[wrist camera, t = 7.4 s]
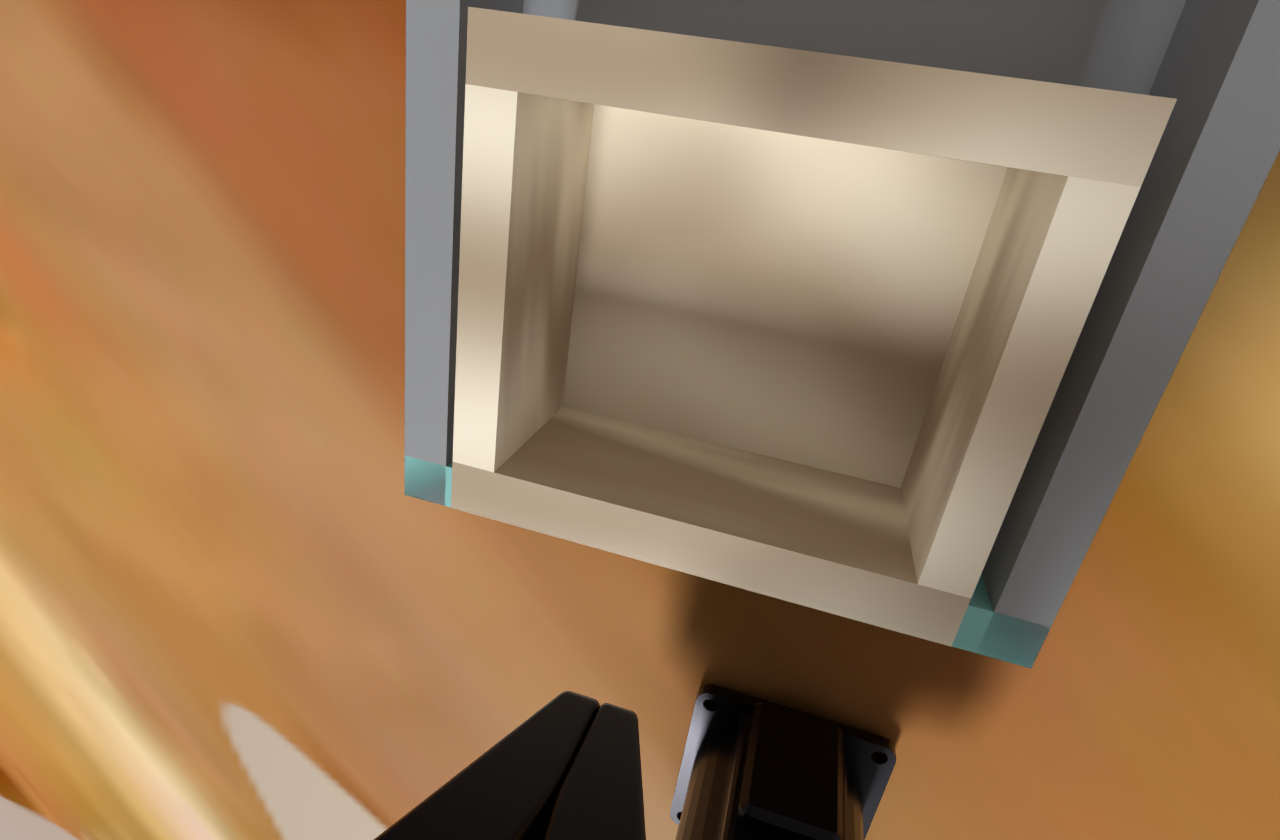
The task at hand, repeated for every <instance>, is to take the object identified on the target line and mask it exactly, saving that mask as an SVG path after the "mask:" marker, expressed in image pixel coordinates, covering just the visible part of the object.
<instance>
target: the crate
mask: <svg viewBox="0 0 1280 840" xmlns="http://www.w3.org/2000/svg"><path fill="white" fill-rule="evenodd" d="M1176 101H1177V99H1174V98H1166V97H1159V96H1151V95H1143V94H1136V93H1128V92H1120V91H1113V90H1105V89H1097V88H1090V87H1082V86H1074V85H1067V84H1059V83H1051V82H1044V81H1036V80H1028V79H1021V78H1013V77H1005V76H997V75H990V74H982V73H974V72H967V71H959V70H951V69H944V68H936V67H928V66H921V65H913V64H905V63H898V62H890V61H882V60H875V59H867V58H859V57H851V56H844V55H836V54H828V53H821V52H813V51H805V50H798V49H790V48H782V47H775V46H767V45H759V44H752V43H744V42H736V41H729V40H721V39H713V38H706V37H698V36H690V35H682V34H675V33H667V32H659V31H652V30H644V29H636V28H629V27H621V26H613V25H606V24H598V23H590V22H583V21H575V20H567V19H560V18H552V17H544V16H536V15H529V14H521V13H513V12H506V11H498V10H490V9H483V8H475V7H468V25H467V54H466V83H465V112H464V142H463V171H462V200H461V229H460V258H459V287H458V317H457V346H456V375H455V404H454V433H453V463H452V492H451V508H453V509H457V510H461V511H464V512H468V513H471V514H475V515H479V516H482V517H486V518H489V519H493V520H497V521H500V522H504V523H507V524H511V525H515V526H518V527H522V528H525V529H529V530H533V531H536V532H540V533H543V534H547V535H551V536H554V537H558V538H561V539H565V540H569V541H572V542H576V543H579V544H583V545H587V546H590V547H594V548H597V549H601V550H605V551H608V552H612V553H615V554H619V555H623V556H626V557H630V558H633V559H637V560H641V561H644V562H648V563H651V564H655V565H659V566H662V567H666V568H669V569H673V570H677V571H680V572H684V573H687V574H691V575H695V576H698V577H702V578H705V579H709V580H713V581H716V582H720V583H723V584H727V585H731V586H734V587H738V588H741V589H745V590H749V591H752V592H756V593H759V594H763V595H767V596H770V597H774V598H777V599H781V600H785V601H788V602H792V603H795V604H799V605H803V606H806V607H810V608H813V609H817V610H821V611H824V612H828V613H831V614H835V615H839V616H842V617H846V618H849V619H853V620H857V621H860V622H864V623H867V624H871V625H875V626H878V627H882V628H885V629H889V630H893V631H896V632H900V633H903V634H907V635H911V636H914V637H918V638H921V639H925V640H929V641H932V642H936V643H939V644H943V645H947V646H950V647H951V646H952V644H953V641H954V639H955V636H956V634H957V632H958V629H959V627H960V624H961V622H962V619H963V617H964V615H965V612H966V610H967V607H968V605H969V602H970V600H971V598H972V595H973V593H974V590H975V588H976V586H977V583H978V581H979V578H980V576H981V573H982V571H983V569H984V566H985V564H986V561H987V559H988V556H989V554H990V552H991V549H992V547H993V544H994V542H995V539H996V537H997V535H998V532H999V530H1000V527H1001V525H1002V522H1003V520H1004V518H1005V515H1006V513H1007V510H1008V508H1009V506H1010V503H1011V501H1012V498H1013V496H1014V493H1015V491H1016V489H1017V486H1018V484H1019V481H1020V479H1021V476H1022V474H1023V472H1024V469H1025V467H1026V464H1027V462H1028V459H1029V457H1030V455H1031V452H1032V450H1033V447H1034V445H1035V442H1036V440H1037V438H1038V435H1039V433H1040V430H1041V428H1042V425H1043V423H1044V421H1045V418H1046V416H1047V413H1048V411H1049V409H1050V406H1051V404H1052V401H1053V399H1054V396H1055V394H1056V392H1057V389H1058V387H1059V384H1060V382H1061V379H1062V377H1063V375H1064V372H1065V370H1066V367H1067V365H1068V362H1069V360H1070V358H1071V355H1072V353H1073V350H1074V348H1075V345H1076V343H1077V341H1078V338H1079V336H1080V333H1081V331H1082V328H1083V326H1084V324H1085V321H1086V319H1087V316H1088V314H1089V312H1090V309H1091V307H1092V304H1093V302H1094V299H1095V297H1096V295H1097V292H1098V290H1099V287H1100V285H1101V282H1102V280H1103V278H1104V275H1105V273H1106V270H1107V268H1108V265H1109V263H1110V261H1111V258H1112V256H1113V253H1114V251H1115V248H1116V246H1117V244H1118V241H1119V239H1120V236H1121V234H1122V231H1123V229H1124V227H1125V224H1126V222H1127V219H1128V217H1129V215H1130V212H1131V210H1132V207H1133V205H1134V202H1135V200H1136V198H1137V195H1138V193H1139V190H1140V188H1141V185H1142V183H1143V181H1144V178H1145V176H1146V173H1147V171H1148V168H1149V166H1150V164H1151V161H1152V159H1153V156H1154V154H1155V151H1156V149H1157V147H1158V144H1159V142H1160V139H1161V137H1162V135H1163V132H1164V130H1165V127H1166V125H1167V122H1168V120H1169V118H1170V115H1171V113H1172V110H1173V108H1174V105H1175V103H1176Z"/></svg>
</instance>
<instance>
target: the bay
mask: <svg viewBox="0 0 1280 840" xmlns="http://www.w3.org/2000/svg"><path fill="white" fill-rule="evenodd" d="M468 7H475V8H483V9H490V10H498V11H506V12H513V13H521V14H529V15H536V16H544V17H552V18H560V19H567V20H575V21H583V22H590V23H598V24H606V25H613V26H621V27H629V28H636V29H644V30H652V31H659V32H667V33H675V34H682V35H690V36H698V37H706V38H713V39H721V40H729V41H736V42H744V43H752V44H759V45H767V46H775V47H782V48H790V49H798V50H805V51H813V52H821V53H828V54H836V55H844V56H851V57H859V58H867V59H875V60H882V61H890V62H898V63H905V64H913V65H921V66H928V67H936V68H944V69H951V70H959V71H967V72H974V73H982V74H990V75H997V76H1005V77H1013V78H1021V79H1028V80H1036V81H1044V82H1051V83H1059V84H1067V85H1074V86H1082V87H1090V88H1097V89H1105V90H1113V91H1120V92H1128V93H1136V94H1143V95H1151V96H1159V97H1166V98H1174V99H1177V101H1176V103H1175V105H1174V108H1173V110H1172V113H1171V115H1170V118H1169V120H1168V122H1167V125H1166V127H1165V130H1164V132H1163V135H1162V137H1161V139H1160V142H1159V144H1158V147H1157V149H1156V151H1155V154H1154V156H1153V159H1152V161H1151V164H1150V166H1149V168H1148V171H1147V173H1146V176H1145V178H1144V181H1143V183H1142V185H1141V188H1140V190H1139V193H1138V195H1137V198H1136V200H1135V202H1134V205H1133V207H1132V210H1131V212H1130V215H1129V217H1128V219H1127V222H1126V224H1125V227H1124V229H1123V231H1122V234H1121V236H1120V239H1119V241H1118V244H1117V246H1116V248H1115V251H1114V253H1113V256H1112V258H1111V261H1110V263H1109V265H1108V268H1107V270H1106V273H1105V275H1104V278H1103V280H1102V282H1101V285H1100V287H1099V290H1098V292H1097V295H1096V297H1095V299H1094V302H1093V304H1092V307H1091V309H1090V312H1089V314H1088V316H1087V319H1086V321H1085V324H1084V326H1083V328H1082V331H1081V333H1080V336H1079V338H1078V341H1077V343H1076V345H1075V348H1074V350H1073V353H1072V355H1071V358H1070V360H1069V362H1068V365H1067V367H1066V370H1065V372H1064V375H1063V377H1062V379H1061V382H1060V384H1059V387H1058V389H1057V392H1056V394H1055V396H1054V399H1053V401H1052V404H1051V406H1050V409H1049V411H1048V413H1047V416H1046V418H1045V421H1044V423H1043V425H1042V428H1041V430H1040V433H1039V435H1038V438H1037V440H1036V442H1035V445H1034V447H1033V450H1032V452H1031V455H1030V457H1029V459H1028V462H1027V464H1026V467H1025V469H1024V472H1023V474H1022V476H1021V479H1020V481H1019V484H1018V486H1017V489H1016V491H1015V493H1014V496H1013V498H1012V501H1011V503H1010V506H1009V508H1008V510H1007V513H1006V515H1005V518H1004V520H1003V522H1002V525H1001V527H1000V530H999V532H998V535H997V537H996V539H995V542H994V544H993V547H992V549H991V552H990V554H989V556H988V559H987V561H986V564H985V566H984V569H983V571H982V573H981V576H980V578H979V581H978V583H977V586H976V588H975V590H974V593H973V595H972V598H971V600H970V602H969V605H968V607H967V610H966V612H965V615H964V617H963V619H962V622H961V624H960V627H959V629H958V632H957V634H956V636H955V639H954V641H953V644H952V647H956V648H959V649H963V650H966V651H970V652H974V653H977V654H981V655H984V656H988V657H992V658H995V659H999V660H1002V661H1006V662H1010V663H1013V664H1017V665H1020V666H1024V667H1028V668H1032V665H1033V663H1034V661H1035V659H1036V657H1037V655H1038V653H1039V651H1040V649H1041V647H1042V645H1043V643H1044V640H1045V638H1046V636H1047V634H1048V632H1049V630H1050V628H1051V626H1052V624H1053V622H1054V620H1055V618H1056V615H1057V613H1058V611H1059V609H1060V607H1061V605H1062V603H1063V601H1064V599H1065V597H1066V595H1067V593H1068V590H1069V588H1070V586H1071V584H1072V582H1073V580H1074V578H1075V576H1076V574H1077V572H1078V570H1079V568H1080V565H1081V563H1082V561H1083V559H1084V557H1085V555H1086V553H1087V551H1088V549H1089V547H1090V545H1091V543H1092V540H1093V538H1094V536H1095V534H1096V532H1097V530H1098V528H1099V526H1100V524H1101V522H1102V520H1103V518H1104V515H1105V513H1106V511H1107V509H1108V507H1109V505H1110V503H1111V501H1112V499H1113V497H1114V495H1115V493H1116V490H1117V488H1118V486H1119V484H1120V482H1121V480H1122V478H1123V476H1124V474H1125V472H1126V470H1127V468H1128V465H1129V463H1130V461H1131V459H1132V457H1133V455H1134V453H1135V451H1136V449H1137V447H1138V445H1139V443H1140V440H1141V438H1142V436H1143V434H1144V432H1145V430H1146V428H1147V426H1148V424H1149V422H1150V420H1151V418H1152V415H1153V413H1154V411H1155V409H1156V407H1157V405H1158V403H1159V401H1160V399H1161V397H1162V395H1163V393H1164V390H1165V388H1166V386H1167V384H1168V382H1169V380H1170V378H1171V376H1172V374H1173V372H1174V370H1175V368H1176V365H1177V363H1178V361H1179V359H1180V357H1181V355H1182V353H1183V351H1184V349H1185V347H1186V345H1187V343H1188V340H1189V338H1190V336H1191V334H1192V332H1193V330H1194V328H1195V326H1196V324H1197V322H1198V320H1199V317H1200V315H1201V313H1202V311H1203V309H1204V307H1205V305H1206V303H1207V301H1208V299H1209V297H1210V295H1211V292H1212V290H1213V288H1214V286H1215V284H1216V282H1217V280H1218V278H1219V276H1220V274H1221V272H1222V270H1223V267H1224V265H1225V263H1226V261H1227V259H1228V257H1229V255H1230V253H1231V251H1232V249H1233V247H1234V245H1235V242H1236V240H1237V238H1238V236H1239V234H1240V232H1241V230H1242V228H1243V226H1244V224H1245V222H1246V220H1247V217H1248V215H1249V213H1250V211H1251V209H1252V207H1253V205H1254V203H1255V201H1256V199H1257V197H1258V195H1259V192H1260V190H1261V188H1262V186H1263V184H1264V182H1265V180H1266V178H1267V176H1268V174H1269V172H1270V170H1271V167H1272V165H1273V163H1274V161H1275V159H1276V157H1277V155H1278V153H1279V151H1280V0H406V224H405V495H408V496H412V497H415V498H419V499H422V500H426V501H430V502H433V503H437V504H440V505H444V506H448V507H451V492H452V463H453V433H454V404H455V375H456V346H457V317H458V287H459V258H460V229H461V200H462V171H463V142H464V112H465V83H466V54H467V25H468Z"/></svg>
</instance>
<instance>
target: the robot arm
mask: <svg viewBox="0 0 1280 840" xmlns="http://www.w3.org/2000/svg"><path fill="white" fill-rule="evenodd" d="M707 699H712V700H714V701H716V703H713V702H710V701H708V700H707ZM874 752H883V754H876V753H874ZM895 763H896V753H895V747H894V745H893V743H892V742H891V741H890V740H889V739H887V738H884V737H882V736H879V735H875V734H872V733H869V732H866V731H862V730H859V729H856V728H853V727H849V726H846V725H843V724H840V723H836V722H833V721H830V720H826V719H823V718H820V717H817V716H813V715H810V714H807V713H804V712H800V711H797V710H794V709H791V708H787V707H784V706H781V705H777V704H774V703H771V702H768V701H764V700H761V699H758V698H755V697H751V696H748V695H745V694H742V693H738V692H735V691H732V690H728V689H725V688H722V687H719V686H715V685H705V686H703V687H701V688H700V690H699V692H698V695H697V699H696V703H695V707H694V711H693V716H692V720H691V724H690V729H689V733H688V737H687V742H686V746H685V750H684V755H683V759H682V763H681V768H680V772H679V776H678V781H677V785H676V789H675V794H674V798H673V802H672V807H671V811H670V817H671V818H672V820H673V821H674V822H675V823H676V824H678V825H679V827H678V831H677V835H676V840H864V839H865V837H866V834H867V832H868V829H869V827H870V825H871V822H872V820H873V817H874V815H875V812H876V810H877V807H878V805H879V802H880V800H881V797H882V795H883V793H884V790H885V788H886V785H887V783H888V780H889V778H890V775H891V773H892V770H893V768H894V765H895ZM374 840H646V834H645V819H644V804H643V789H642V774H641V759H640V744H639V729H638V718H637V715H636V714H635V712H633V711H630V710H627V709H624V708H621V707H618V706H615V705H612V704H609V703H604V704H602V705H601V706H600V705H599V703H598V701H597V700H595V699H593V698H590V697H587V696H584V695H581V694H577V693H574V692H571V691H566V692H563V693H561V694H560V695H558V696H557V697H556V698H555V699H553V700H552V701H551V702H549V703H548V704H547V705H546V706H544V707H543V708H542V709H540V710H539V711H538V712H537V713H535V714H534V715H533V716H532V717H530V718H529V719H528V720H526V721H525V722H524V723H523V724H521V725H520V726H519V727H517V728H516V729H515V730H514V731H512V732H511V733H510V734H508V735H507V736H506V737H505V738H503V739H502V740H501V741H500V742H498V743H497V744H496V745H494V746H493V747H492V748H491V749H489V750H488V751H487V752H485V753H484V754H483V755H482V756H480V757H479V758H478V759H476V760H475V761H474V762H473V763H471V764H470V765H469V766H468V767H466V768H465V769H464V770H462V771H461V772H460V773H459V774H457V775H456V776H455V777H453V778H452V779H451V780H450V781H448V782H447V783H446V784H444V785H443V786H442V787H441V788H439V789H438V790H437V791H436V792H434V793H433V794H432V795H430V796H429V797H428V798H427V799H425V800H424V801H423V802H421V803H420V804H419V805H418V806H416V807H415V808H414V809H412V810H411V811H410V812H409V813H407V814H406V815H405V816H403V817H402V818H401V819H400V820H398V821H397V822H396V823H395V824H393V825H392V826H391V827H389V828H388V829H387V830H386V831H384V832H383V833H382V834H381V835H379V836H378V837H377V838H375V839H374Z"/></svg>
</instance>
